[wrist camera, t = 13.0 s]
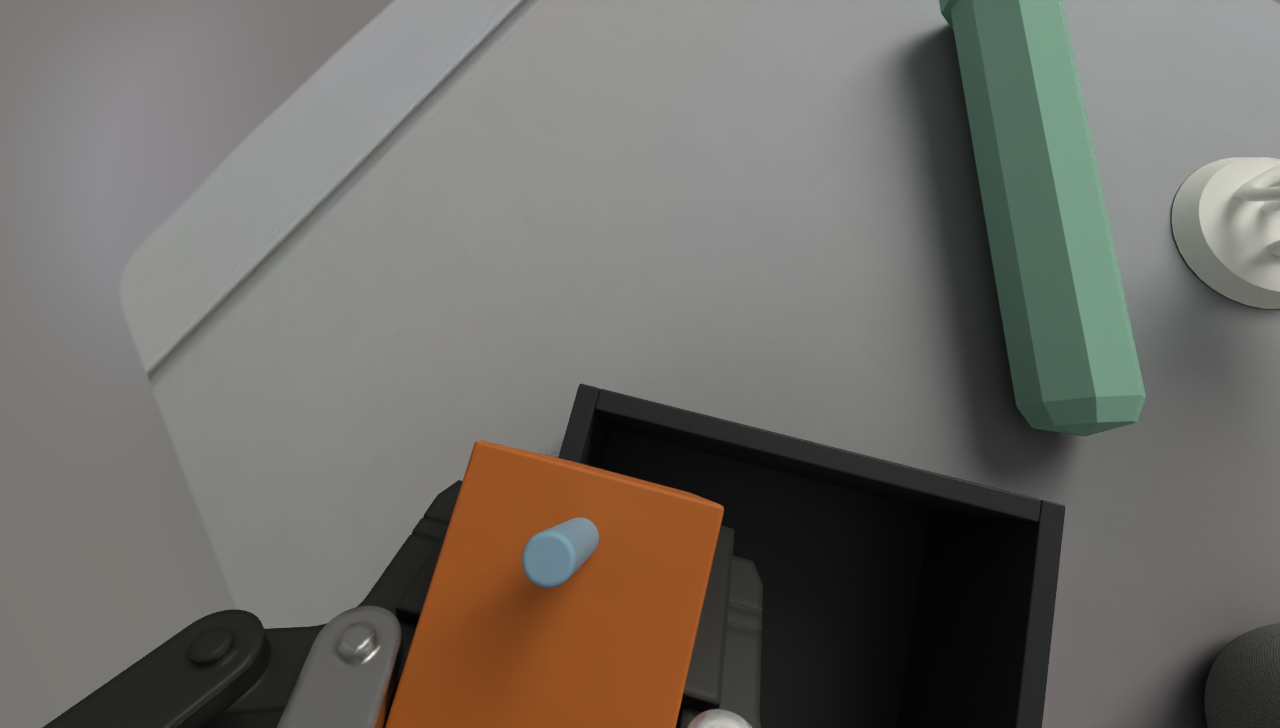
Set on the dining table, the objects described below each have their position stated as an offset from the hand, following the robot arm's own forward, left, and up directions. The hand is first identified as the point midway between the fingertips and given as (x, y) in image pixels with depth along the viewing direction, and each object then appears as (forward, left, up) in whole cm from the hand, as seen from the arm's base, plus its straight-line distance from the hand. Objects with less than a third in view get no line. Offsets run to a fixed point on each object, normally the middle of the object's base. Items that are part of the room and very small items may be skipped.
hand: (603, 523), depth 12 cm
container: (+16, +20, -17) cm, 31 cm away
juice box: (0, -2, -5) cm, 5 cm away
